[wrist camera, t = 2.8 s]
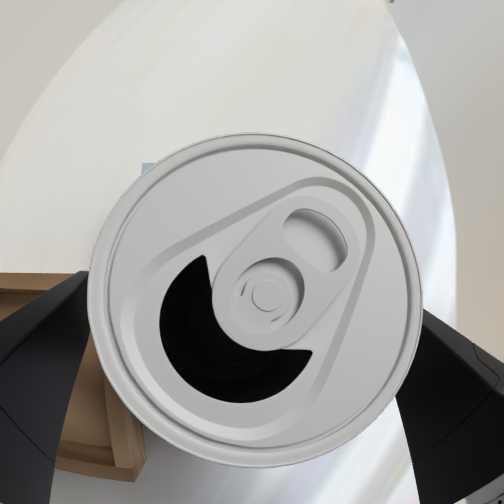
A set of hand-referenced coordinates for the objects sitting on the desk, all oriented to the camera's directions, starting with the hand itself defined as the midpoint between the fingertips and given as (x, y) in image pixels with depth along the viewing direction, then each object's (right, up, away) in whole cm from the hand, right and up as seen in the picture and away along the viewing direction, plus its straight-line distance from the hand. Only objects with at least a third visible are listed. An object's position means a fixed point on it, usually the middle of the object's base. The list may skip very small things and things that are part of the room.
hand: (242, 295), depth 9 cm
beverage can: (-1, -2, +7) cm, 8 cm away
